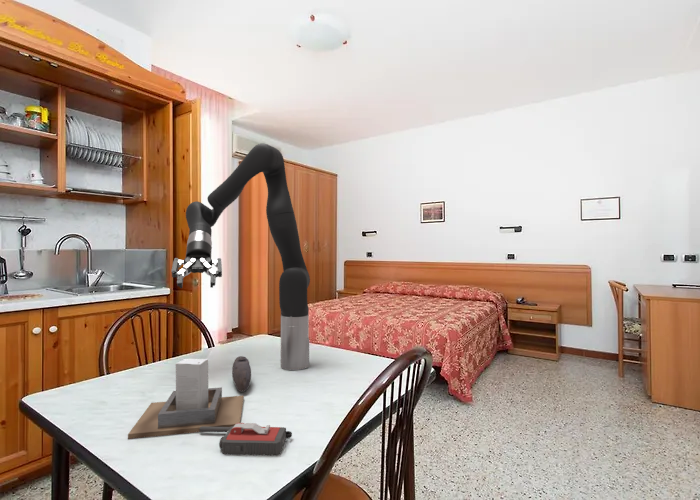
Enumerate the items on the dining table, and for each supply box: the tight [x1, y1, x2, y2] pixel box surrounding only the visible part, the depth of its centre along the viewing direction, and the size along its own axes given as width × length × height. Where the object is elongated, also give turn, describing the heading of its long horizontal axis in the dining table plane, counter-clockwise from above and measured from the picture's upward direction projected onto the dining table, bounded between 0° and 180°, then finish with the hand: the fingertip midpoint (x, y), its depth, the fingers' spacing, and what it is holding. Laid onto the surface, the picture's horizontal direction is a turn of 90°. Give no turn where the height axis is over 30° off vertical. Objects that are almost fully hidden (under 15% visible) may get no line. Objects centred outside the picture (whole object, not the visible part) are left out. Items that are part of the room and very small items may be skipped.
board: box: [127, 395, 245, 440], centre depth 86 cm, size 22×16×1 cm
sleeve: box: [158, 386, 223, 429], centre depth 86 cm, size 11×13×3 cm
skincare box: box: [175, 358, 209, 411], centre depth 87 cm, size 6×4×12 cm
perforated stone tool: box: [231, 355, 252, 393], centre depth 106 cm, size 15×5×7 cm, turn 18°
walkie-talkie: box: [199, 422, 293, 456], centre depth 75 cm, size 9×4×20 cm
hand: (196, 286), depth 110 cm, fingers open, 8 cm apart
